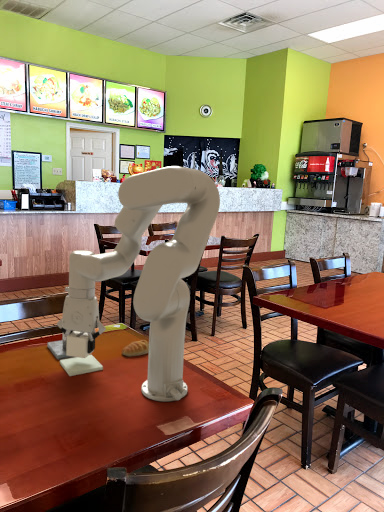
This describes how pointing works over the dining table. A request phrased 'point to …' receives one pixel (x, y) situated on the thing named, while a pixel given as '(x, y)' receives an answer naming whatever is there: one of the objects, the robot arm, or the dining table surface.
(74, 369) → the coaster
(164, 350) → the robot arm
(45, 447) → the dining table surface
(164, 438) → the dining table surface
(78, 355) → the white slotted cube
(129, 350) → the pastry
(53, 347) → the post stand
